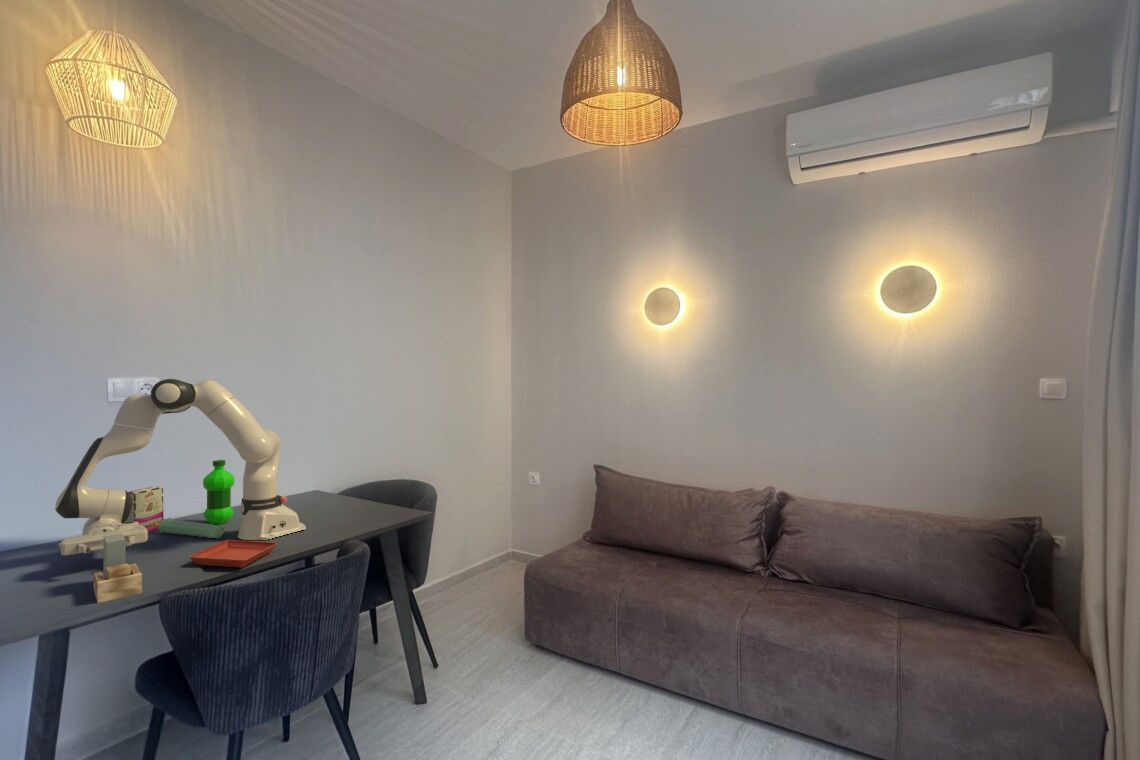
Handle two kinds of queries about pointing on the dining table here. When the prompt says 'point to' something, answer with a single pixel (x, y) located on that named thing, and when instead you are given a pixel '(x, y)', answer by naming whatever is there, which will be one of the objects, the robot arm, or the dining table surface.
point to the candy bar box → (147, 507)
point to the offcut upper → (118, 571)
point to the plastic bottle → (218, 494)
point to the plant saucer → (233, 553)
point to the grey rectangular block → (113, 551)
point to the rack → (117, 585)
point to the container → (190, 528)
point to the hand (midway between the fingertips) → (108, 546)
